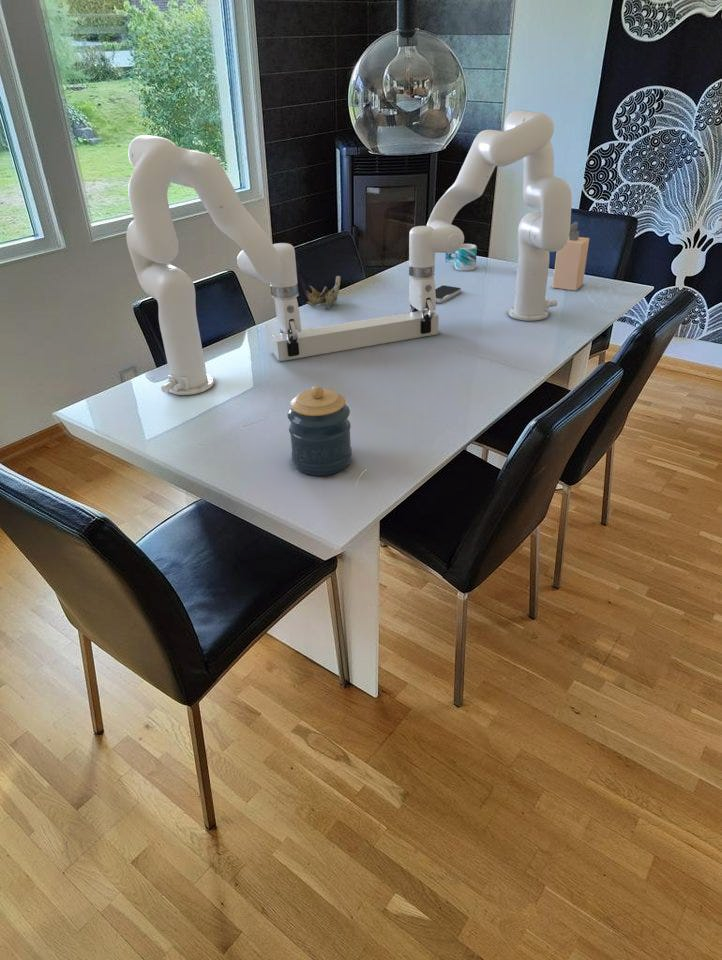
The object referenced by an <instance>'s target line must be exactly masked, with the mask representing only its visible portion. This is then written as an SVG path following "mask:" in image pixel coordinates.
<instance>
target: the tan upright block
mask: <svg viewBox="0 0 722 960" xmlns="http://www.w3.org/2000/svg"><path fill="white" fill-rule="evenodd" d="M578 226H579V221H574V222H572V223H570V233H569V237H568V240H567V242H566V244H565V245H564V247H563V248H562V249H560V250H558V251H556V254H555V260H554V261H555V262H554V270H553V277H552V278H553V279H552V289H559V290H560V289H561V290H568V291H575V292H576V291H577V290H578V289H580V287H581V286H582V285H583V284H584V278H585V273H586V272H585V271H586V265H587V257H588V251H589V244H590V237H582V236H580V230H578Z"/></svg>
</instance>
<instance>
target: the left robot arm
mask: <svg viewBox="0 0 722 960" xmlns="http://www.w3.org/2000/svg"><path fill="white" fill-rule="evenodd" d="M127 151H128V154H127V155H128V160H129V163H130V164H131V165H132V166H133V169H132V172H131V175H130V177H129V182H128V200H129V205H130V209H131V213H132V217H133V220H131V221H130V223H129V224H128V225H127V226H128V227H127V229H126V235H125V236H126V245H127V250H128V252H129V255H130V259H131V262H132V265H133V268H134V272H135V274H136V278H137V281H138V283H139V285H140V287H141V289H142V291H143V292H144V293H146V294H147V296H149V297H151V298H153V299H154V300H156V302H157V306H158V308H157V309H158V323H159V331H160V333H161V339H162V344H163V348H164V354H165V358H166V363H167V368H168V373H169V374H168V375H167V378H168V380H167V381H166V383H164V384H163V385H162V386H161V387H160V390H161V391H162V393H171V394H173V395H176V396H177V395H178V396H190V395H197V394H201V393H203V392H206V391H208V390H210V389H211V388H212V387H213V385H214V383H215V380H214V377H213V376H212V375H211V374H209V373H207V368H206V362H205V356H204V351H203V345H202V340H201V333H200V327H199V322H198V316H197V306H196V305H197V304H196V300H197V297H196V287H195V283H194V282H193V279H192V278H191V277H190V276H189V274H188V273H187V272H186V271H184V270H182V269H181V268H179V267H177V266H175V265H172V263H171V262H173V261H174V260H175V259H176V258H177V256H178V254H179V250H180V249H179V248H180V245H179V239H178V236H177V232H176V228H175V224H174V220H173V217H172V214H171V213H172V212H171V210H170V204H169V199H168V194H169V193H168V190H169V187H170V184H171V183H172V184H176V185H179V186H184V187H186V188H190V189H193V190H194V191H195V193H196V194H197V196H198V198H199V199H200V202H201V203H202V204H203V206H204V208H205V210H206V211H207V213H208V215H209V216H210V219H211V220H212V222H213V223H214V225H215V226H216V227H217V228H218V229H219V230H220V232H222V233H223V234H224V235H225V236H227V237H228V238H230V239H231V240H232V241H233V242H234V243H236V245H238V246H239V248H240V249H241V250H240V252H239V253H238V255H237V258H236V264H237V268H238V269H239V270H240V271H241V273H243V274H244V275H246V276H248V277H251V278H253V279H256V280H258V281H260V282H263V283H267V284H270V295H271V298H272V299H274V301H275V302H274V303H275V314H276V321H277V322H276V323H277V325H278V327H279V331H280V332H279V333H286V334H287V340H288V343H287V349H288V356H289V357H291V356H297V355H299V345H298V337H297V331H299V332H301V330H302V324H301V323H302V322H301V315H300V308H299V303H298V302H299V301H298V298H297V297H299V294H300V293H299V284H298V273H297V271H298V270H297V261H296V251H295V250H296V249H295V247H294V245H292V244H291V243H287V242H278V243H273V242H272V240H271V239H270V237H269V236H268V234H267V233H266V231H265V230H264V229H263V228H262V226H260V224H259V223H258V222H257V221H256V219H255V218H254V217H253V216H252V215H251V213H250V212H249V211H248V210H247V209H246V208H245V207H246V206H245V205H244V204H243V202H242V200H241V198H240V197H239V195H238V193H237V191H236V189H235V187H234V186H233V184H232V182H231V180H230V177H228V175H227V173H226V171H225V170H224V168H223V166H222V164H221V162H220V161H219V160H218V159H217V158H216V157H215V156H214V155H213V154H210V153H208V152H203V151H198V150H192V149H189V148H184V147H182V146H178V145H177V144H175V142H173V141H172V140H170V139H168V138H165V137H161V136H154V135H147V134H141V135H138V136H135V138H133V139H132V140H131V142H130V143H129V146H128V150H127ZM290 334H292V336H291V337H290V336H289V335H290Z"/></svg>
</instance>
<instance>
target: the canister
mask: <svg viewBox="0 0 722 960" xmlns="http://www.w3.org/2000/svg"><path fill="white" fill-rule="evenodd" d="M350 414H351V409H350V407H349V406H348V404H346V399H345V396H343V395H342V394H340V393H338V392H337V391H335V390H333V389H329V388H323V387H321V386H319V385H314V386H312V387H311V388H310V389H307V390H304V391H302V392H300V393H299V394H297V395H296V396H295V397H293V398H292V399H291V401H290V408H289V409H288V411H287V419H288V421H289V422H290V424H289V426H288V432H289V435H290V446H291V460H292V462H293V465H294V467H295V468H296V470H298V471H299V472H301V473H303V474H305V475H311V476H328V475H329V476H330V475H334V474H338V473H339V472H341V471H343V470H345V469H346V468H347V467H349V465H350V463H351V461H352V457H353V449H352V445H351V443H352V442H351V421H350V420H349V416H350Z"/></svg>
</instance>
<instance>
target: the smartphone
mask: <svg viewBox="0 0 722 960" xmlns="http://www.w3.org/2000/svg"><path fill="white" fill-rule="evenodd" d="M461 291H462V290H461V287H457V286H451V285H440V286H439V287H436V288H435V292H436V303H438V304H441V303H442V304H443V303H445V302H446V301H448V300H449V299H451V298H453V297H454V296H455V297H456V295H459V294H460V293H461Z"/></svg>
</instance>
